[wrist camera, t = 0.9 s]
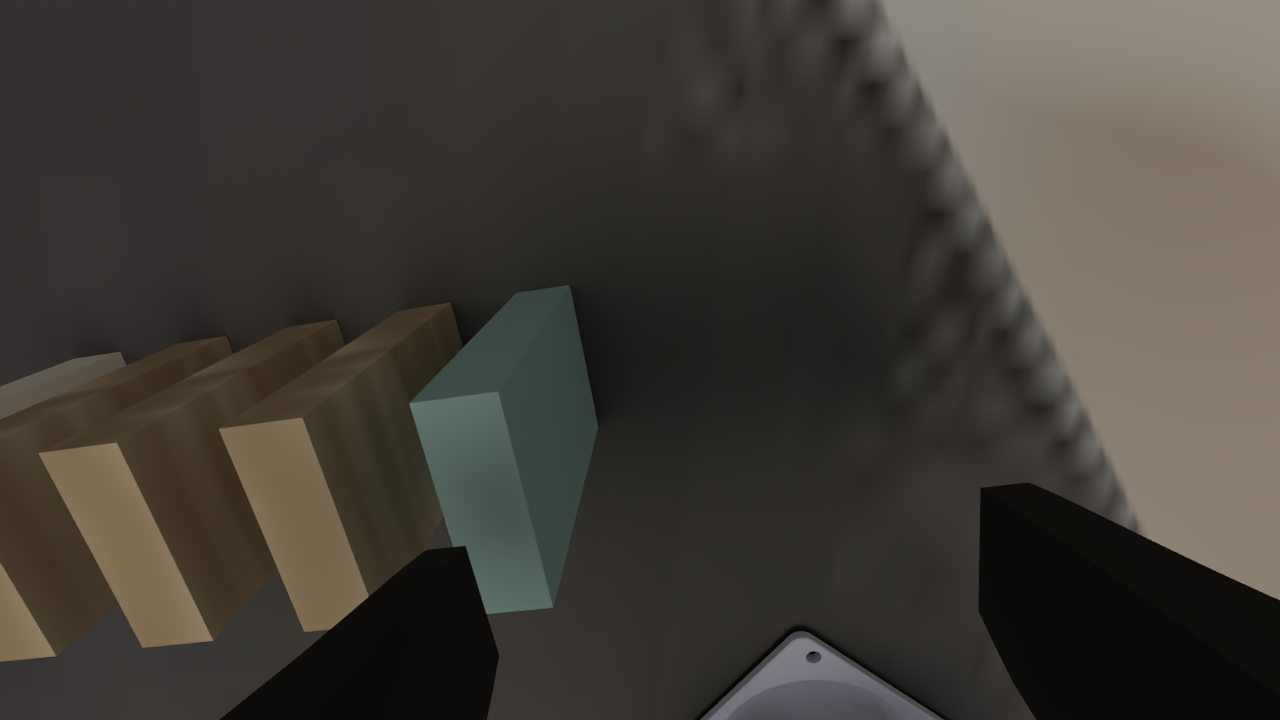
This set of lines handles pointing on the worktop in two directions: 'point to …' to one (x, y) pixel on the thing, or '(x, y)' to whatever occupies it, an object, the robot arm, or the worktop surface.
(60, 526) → the domino
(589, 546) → the worktop surface
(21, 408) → the domino
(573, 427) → the domino
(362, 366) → the domino
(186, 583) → the domino
